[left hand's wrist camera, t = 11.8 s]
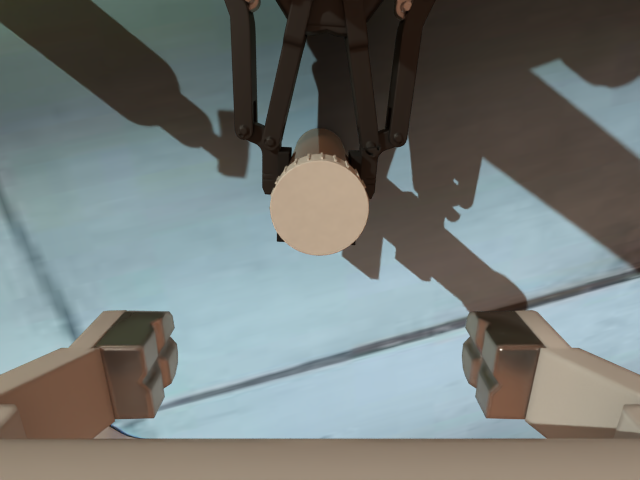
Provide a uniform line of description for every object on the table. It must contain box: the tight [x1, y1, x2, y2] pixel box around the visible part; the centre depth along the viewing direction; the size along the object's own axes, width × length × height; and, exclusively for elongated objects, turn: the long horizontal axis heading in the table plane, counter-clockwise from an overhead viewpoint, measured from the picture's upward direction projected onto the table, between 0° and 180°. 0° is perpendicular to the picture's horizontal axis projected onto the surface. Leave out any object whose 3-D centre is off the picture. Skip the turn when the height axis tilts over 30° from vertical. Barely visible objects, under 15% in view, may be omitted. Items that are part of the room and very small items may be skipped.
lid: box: [270, 153, 369, 255], centre depth 21 cm, size 5×5×2 cm
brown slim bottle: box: [288, 128, 351, 166], centre depth 29 cm, size 4×4×17 cm
